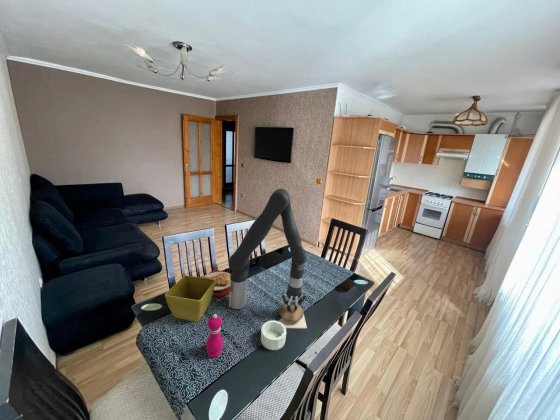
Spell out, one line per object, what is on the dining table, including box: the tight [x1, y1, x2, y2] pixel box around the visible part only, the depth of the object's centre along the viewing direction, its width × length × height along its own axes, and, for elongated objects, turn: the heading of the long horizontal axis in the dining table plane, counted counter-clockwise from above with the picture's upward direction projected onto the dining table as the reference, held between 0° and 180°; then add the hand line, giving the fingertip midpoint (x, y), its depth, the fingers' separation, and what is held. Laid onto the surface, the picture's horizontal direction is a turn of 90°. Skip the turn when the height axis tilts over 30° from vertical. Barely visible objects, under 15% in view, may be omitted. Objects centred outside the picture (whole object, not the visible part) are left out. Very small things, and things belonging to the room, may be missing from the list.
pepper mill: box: [205, 313, 224, 358], centre depth 99 cm, size 7×7×20 cm
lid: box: [278, 301, 304, 322], centre depth 125 cm, size 14×14×6 cm
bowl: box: [260, 320, 287, 351], centre depth 110 cm, size 12×12×6 cm
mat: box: [278, 313, 308, 330], centre depth 126 cm, size 15×15×1 cm
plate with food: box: [199, 268, 231, 297], centre depth 146 cm, size 24×26×3 cm
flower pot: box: [164, 275, 215, 323], centre depth 121 cm, size 19×19×17 cm
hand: (291, 309), depth 125 cm, fingers closed on lid, 3 cm apart
